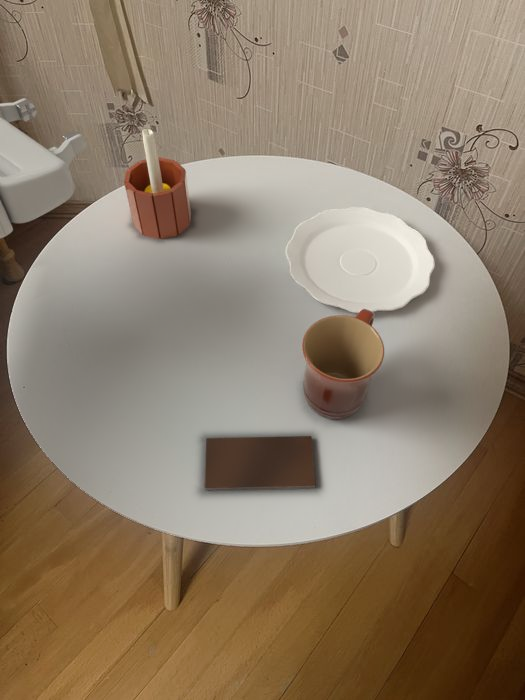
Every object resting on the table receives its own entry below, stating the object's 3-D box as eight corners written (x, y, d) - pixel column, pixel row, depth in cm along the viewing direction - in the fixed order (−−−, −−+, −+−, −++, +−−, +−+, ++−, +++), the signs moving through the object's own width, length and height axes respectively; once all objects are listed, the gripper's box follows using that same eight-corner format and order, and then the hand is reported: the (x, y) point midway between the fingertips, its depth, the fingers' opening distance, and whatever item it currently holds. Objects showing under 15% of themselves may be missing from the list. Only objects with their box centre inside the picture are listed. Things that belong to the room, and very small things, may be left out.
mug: (349, 441, 65) (363, 394, 57) (283, 407, 68) (287, 357, 59) (391, 367, 71) (408, 315, 63) (329, 338, 74) (338, 285, 66)
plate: (461, 272, 81) (464, 264, 80) (356, 344, 73) (358, 336, 72) (359, 197, 91) (360, 189, 89) (257, 254, 83) (257, 246, 81)
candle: (184, 211, 88) (172, 120, 76) (173, 233, 85) (158, 142, 73) (152, 205, 89) (135, 114, 76) (140, 227, 86) (120, 136, 73)
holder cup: (131, 239, 84) (121, 196, 78) (137, 200, 90) (128, 157, 83) (189, 239, 85) (183, 196, 78) (192, 200, 90) (186, 156, 83)
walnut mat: (205, 490, 62) (204, 487, 61) (206, 441, 65) (206, 437, 64) (314, 488, 62) (315, 485, 61) (310, 438, 65) (311, 435, 65)
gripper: (-91, 162, 65) (13, 112, 71) (9, 247, 57) (118, 183, 63) (-121, 110, 60) (-5, 62, 66) (-15, 196, 52) (105, 132, 58)
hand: (56, 122), depth 64 cm, fingers open, 8 cm apart
